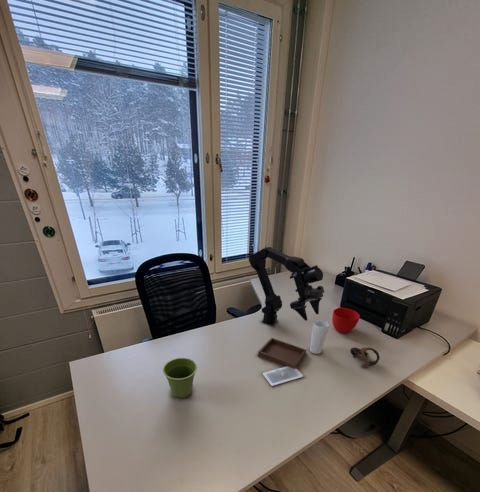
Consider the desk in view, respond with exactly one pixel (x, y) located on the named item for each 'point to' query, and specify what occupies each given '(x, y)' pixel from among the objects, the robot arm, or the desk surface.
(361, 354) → the pottery mug
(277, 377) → the touchpad
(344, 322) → the ceramic cup
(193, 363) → the plant pot
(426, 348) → the desk surface
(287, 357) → the tray
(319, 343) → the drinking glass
